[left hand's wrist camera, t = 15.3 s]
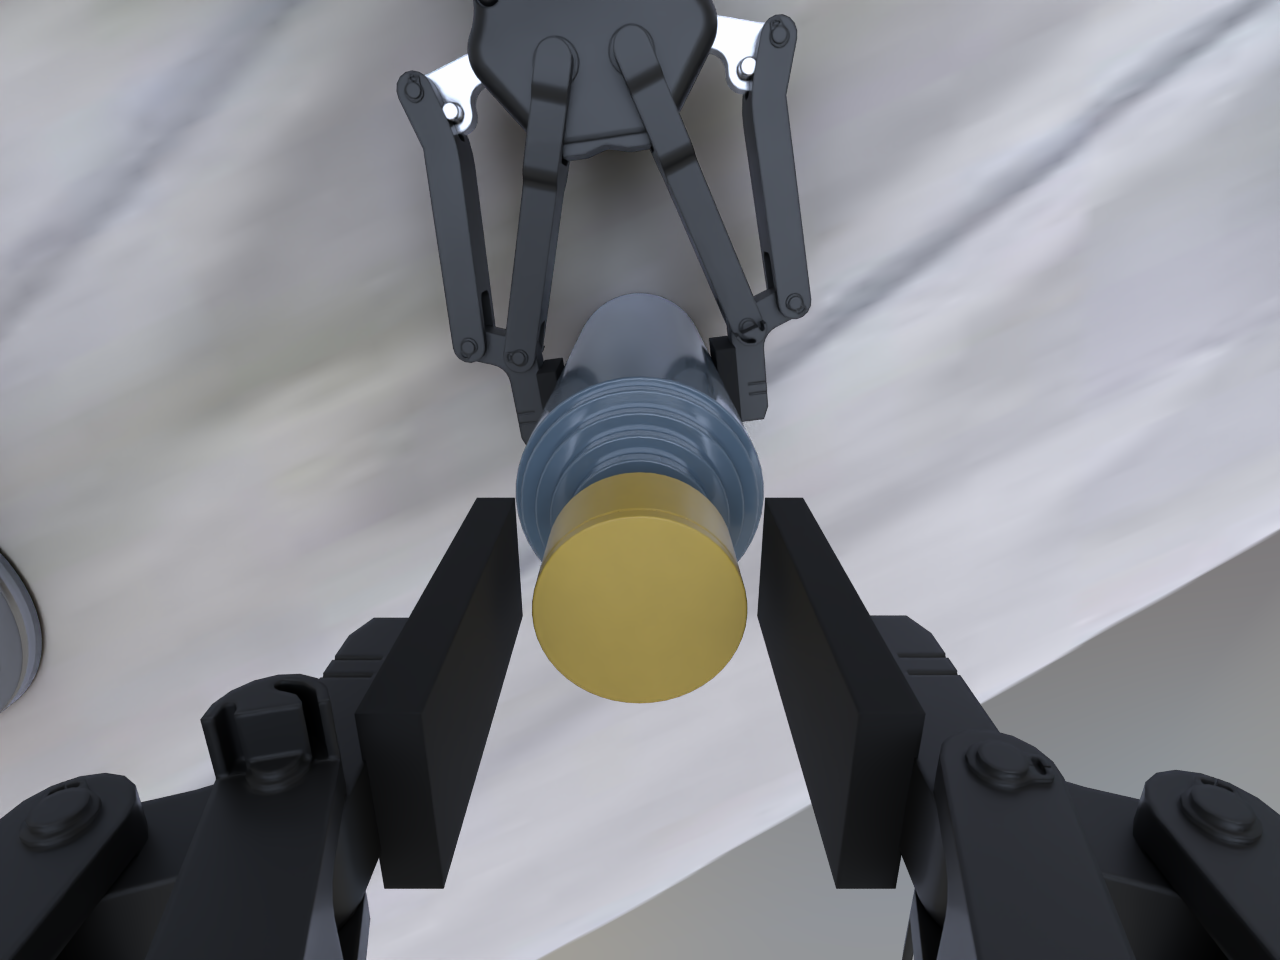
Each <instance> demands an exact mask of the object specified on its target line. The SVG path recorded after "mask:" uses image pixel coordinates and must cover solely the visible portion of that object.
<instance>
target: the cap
mask: <svg viewBox="0 0 1280 960" xmlns="http://www.w3.org/2000/svg"><path fill="white" fill-rule="evenodd" d="M532 617H533V624H534V629H535V632H536V636H537V639H538V641H539V643H540V645H541V647H542V650H543V651H544V653H545V654H546V656H547V657H548V659H549V660H550V662H551V663H552V664H553V665H554V666H555V668H556V669H557V670H558V671H559V672H560V673H561V674H563V675H564V676H565V677H566V678H567V679H568V680H570V681H571V682H573V683H574V684H575V685H577V686H579V687H580V688H582V689H584V690H586V691H588V692H590V693H592V694H595V695H597V696H600V697H603V698H607V699H610V700H614V701H620V702H626V703H653V702H659V701H665V700H669V699H673V698H676V697H680V696H682V695H685V694H687V693H689V692H692V691H694V690H695V689H697V688H699V687H701V686H703V685H704V684H705V683H707V682H708V681H710V680H711V679H712V678H714V677H715V676H716V675H717V674H718V673H719V672H720V671H721V670H722V669H723V668H724V667H725V666H726V664H727V663H728V662H729V661H730V660H731V658H732V656H733V655H734V653H735V652H736V650H737V648H738V646H739V644H740V642H741V639H742V637H743V633H744V630H745V627H746V620H747V598H746V592H745V587H744V584H743V581H742V577H741V573H740V569H739V566H738V562H737V559H736V555H735V551H734V548H733V544H732V541H731V537H730V534H729V531H728V528H727V526H726V524H725V522H724V520H723V518H722V516H721V514H720V513H719V512H718V510H717V509H716V507H715V506H714V505H713V504H712V503H711V502H710V501H709V500H708V499H707V498H706V497H705V496H704V495H703V494H701V493H700V492H699V491H698V490H696V489H695V488H693V487H691V486H690V485H688V484H686V483H684V482H682V481H680V480H677V479H675V478H671V477H668V476H665V475H660V474H655V473H643V472H636V473H624V474H619V475H614V476H611V477H608V478H605V479H602V480H600V481H598V482H595V483H593V484H591V485H590V486H588V487H586V488H585V489H583V490H582V491H580V492H579V493H578V494H577V495H576V496H574V497H573V498H572V499H571V500H570V501H569V502H568V503H567V504H566V506H565V507H564V508H563V509H562V511H561V512H560V514H559V515H558V517H557V518H556V520H555V522H554V524H553V527H552V529H551V532H550V535H549V539H548V542H547V546H546V549H545V553H544V556H543V560H542V564H541V567H540V571H539V574H538V578H537V582H536V585H535V589H534V594H533V600H532Z"/></svg>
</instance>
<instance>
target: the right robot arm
mask: <svg viewBox="0 0 1280 960" xmlns="http://www.w3.org/2000/svg"><path fill="white" fill-rule="evenodd" d="M473 2H474V18H473V25H472V29H471V33H470V36H469V40H468V54H466V55H464V56H462V57H460V58H458V59H456V60H454V61H452V62H450V63H448V64H446V65H444V66H442V67H440V68H438V69H436V70H434V71H432V72H430V73H428V74H426V75H423V74H422V73H420V72H417V71H408V72H405V73H404V74H403V75H402V76H400V78H399V80H398V82H397V94H398V98H399V100H400V102H401V104H402V106H403V108H404V110H405V112H406V115H407V117H408V119H409V121H410V123H411V125H412V127H413V129H414V131H415V133H416V135H417V137H418V139H419V141H420V143H421V145H422V147H423V150H424V157H425V164H426V170H427V177H428V184H429V190H430V197H431V204H432V210H433V217H434V224H435V230H436V237H437V244H438V250H439V257H440V264H441V270H442V277H443V284H444V290H445V297H446V304H447V310H448V317H449V324H450V330H451V337H452V344H453V349H454V352H455V354H456V355H457V357H458V358H459V359H461V360H462V361H464V362H469V363H472V362H476V361H477V362H482V363H487V364H491V365H495V366H498V367H500V368H501V369H503V370H504V371H505V372H506V373H507V375H508V377H509V379H510V382H511V387H512V392H513V397H514V402H515V407H516V412H517V417H518V422H519V427H520V432H521V437H522V439H523V441H524V442H525V444H526V445H527V443H528V441H529V439H530V436H531V434H532V432H533V430H534V428H535V426H536V424H537V422H538V420H539V418H540V416H541V414H542V412H543V410H544V408H545V406H546V403H547V401H548V399H549V397H550V395H551V393H552V391H553V389H554V387H555V385H556V383H557V381H558V379H559V377H560V375H561V373H562V370H563V368H564V363H563V358H557V359H550V360H545V361H544V362H543V356H542V352H543V350H544V347H545V346H543V343H544V336H545V328H546V321H547V314H548V306H549V299H550V292H551V284H552V277H553V270H554V262H555V255H556V247H557V240H558V233H559V225H560V218H561V211H562V203H563V196H564V190H565V186H566V182H567V176H568V169H569V162H570V161H573V160H580V159H586V158H590V157H592V156H594V155H596V154H599V153H601V152H603V151H605V150H608V149H612V150H619V151H626V152H634V151H641V150H648V149H650V150H651V153H652V155H653V157H654V160H655V162H656V164H657V167H658V169H659V171H660V173H661V175H662V177H663V179H664V181H665V184H666V186H667V188H668V191H669V193H670V195H671V198H672V200H673V202H674V205H675V207H676V209H677V212H678V214H679V216H680V218H681V221H682V223H683V225H684V228H685V230H686V232H687V235H688V237H689V239H690V242H691V244H692V246H693V249H694V251H695V253H696V256H697V258H698V260H699V263H700V265H701V267H702V269H703V272H704V274H705V276H706V279H707V281H708V283H709V286H710V288H711V290H712V293H713V295H714V297H715V300H716V302H717V304H718V307H719V309H720V311H721V313H722V316H723V318H724V320H725V323H726V325H727V333H728V336H722V337H714V338H709V342H710V353H711V359H712V361H713V363H714V365H715V367H716V369H717V371H718V373H719V375H720V377H721V380H722V382H723V384H724V386H725V388H726V390H727V392H728V394H729V396H730V398H731V400H732V402H733V404H734V406H735V409H736V411H737V413H738V415H739V417H740V419H741V421H742V422H744V421H752V420H760V419H764V417H765V414H766V411H767V408H768V399H767V385H766V371H765V357H764V342H765V339H766V337H767V335H768V333H769V332H770V331H771V330H772V329H774V328H775V327H777V326H779V325H781V324H783V323H785V322H787V321H789V320H791V319H798V318H801V317H803V316H804V315H805V314H806V313H807V312H808V310H809V308H810V306H811V294H810V286H809V278H808V270H807V261H806V253H805V245H804V237H803V229H802V221H801V212H800V204H799V196H798V188H797V180H796V172H795V164H794V155H793V147H792V139H791V131H790V123H789V115H788V106H787V98H786V93H787V88H788V83H789V77H790V72H791V67H792V62H793V56H794V51H795V46H796V41H797V28H796V26H795V23H794V22H793V20H792V19H791V18H790V17H788V16H786V15H783V14H781V15H774V16H773V17H771V18H769V19H768V20H767V21H766V23H761V22H755V21H749V20H743V19H737V18H731V17H725V16H719V15H717V13H716V9H715V6H714V4H713V2H712V0H473ZM709 54H712V55H715V56H717V57H718V58H719V59H720V60H721V61H722V63H723V64H724V67H725V75H726V82H727V84H728V86H729V88H730V89H731V90H732V91H734V92H735V93H738V94H743V99H742V116H743V127H744V134H745V141H746V148H747V155H748V162H749V169H750V176H751V183H752V190H753V197H754V204H755V211H756V218H757V225H758V232H759V239H760V246H761V253H762V260H763V267H764V274H765V281H766V288H767V290H765V291H763V292H761V293H759V294H757V295H755V296H753V294H752V292H751V289H750V287H749V285H748V282H747V280H746V277H745V275H744V272H743V270H742V268H741V265H740V263H739V260H738V258H737V256H736V253H735V251H734V248H733V246H732V243H731V241H730V239H729V236H728V234H727V231H726V229H725V226H724V224H723V222H722V219H721V217H720V214H719V212H718V209H717V207H716V205H715V202H714V200H713V197H712V195H711V193H710V190H709V188H708V185H707V183H706V180H705V178H704V176H703V173H702V171H701V168H700V166H699V163H698V161H697V158H696V156H695V152H694V149H693V146H692V143H691V140H690V138H689V136H688V133H687V131H686V128H685V126H684V123H683V121H682V119H681V116H680V114H679V113H680V111H681V109H682V107H683V105H684V103H685V101H686V99H687V97H688V95H689V93H690V91H691V89H692V87H693V85H694V83H695V81H696V79H697V77H698V75H699V73H700V71H701V69H702V67H703V65H704V63H705V61H706V59H707V57H708V55H709ZM485 88H487V89H488V91H489V92H490V93H491V94H492V95H493V96H494V97H495V98H496V99H497V100H498V102H499V103H500V104H501V105H502V106H503V107H504V108H505V109H506V110H507V111H508V113H509V114H510V115H511V116H512V117H513V118H514V119H515V120H516V121H517V122H518V124H519V125H520V126H521V127H522V128H523V129H524V130H525V131H526V132H527V136H526V144H525V153H524V162H523V190H522V199H521V207H520V216H519V224H518V233H517V241H516V250H515V258H514V267H513V276H512V284H511V293H510V301H509V310H508V318H507V327H506V329H503V328H498V327H495V319H494V311H493V303H492V296H491V288H490V280H489V272H488V264H487V256H486V249H485V241H484V233H483V225H482V217H481V209H480V201H479V194H478V186H477V178H476V170H475V163H474V158H473V153H472V149H471V146H470V142H469V139H468V137H467V135H468V134H470V133H471V132H472V131H473V130H474V129H475V128H476V125H477V123H478V115H477V110H476V100H477V97H478V95H479V93H480V92H481V91H482V90H483V89H485Z"/></svg>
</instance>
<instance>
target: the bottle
mask: <svg viewBox="0 0 1280 960" xmlns="http://www.w3.org/2000/svg"><path fill="white" fill-rule="evenodd" d="M636 472H643V473H655V474H660V475H665V476H668V477H671V478H675V479H677V480H680V481H682V482H684V483H686V484H688V485H690V486H691V487H693V488H695V489H696V490H698V491H699V492H700V493H701V494H703V495H704V496H705V497H706V498H707V499H708V500H709V501H710V502H711V503H712V504H713V505H714V506H715V507H716V509H717V510H718V512H719V513H720V514H721V516H722V518H723V520H724V522H725V524H726V526H727V528H728V531H729V534H730V537H731V541H732V544H733V548H734V551H735V555H736V559H737V562H738V561H739V560H740V558H741V557H742V556H743V555H744V553H745V552H746V550H747V548H748V547H749V545H750V543H751V542H752V539H753V537H754V535H755V533H756V530H757V528H758V524H759V521H760V517H761V514H762V507H763V500H764V483H763V476H762V469H761V466H760V462H759V459H758V455H757V453H756V450H755V448H754V446H753V444H752V442H751V440H750V437H749V435H748V433H747V431H746V429H745V427H744V425H743V423H742V421H741V419H740V417H739V415H738V413H737V411H736V409H735V406H734V404H733V402H732V400H731V398H730V396H729V394H728V392H727V390H726V388H725V386H724V384H723V382H722V380H721V377H720V375H719V373H718V371H717V369H716V367H715V365H714V363H713V361H712V359H711V357H710V355H709V353H708V351H707V349H706V346H705V344H704V342H703V340H702V338H701V336H700V334H699V332H698V330H697V328H696V326H695V324H694V323H693V321H692V320H691V318H690V317H689V316H688V315H687V313H686V312H685V311H684V310H682V309H681V308H680V307H679V306H678V305H676V304H675V303H673V302H672V301H670V300H668V299H666V298H663V297H660V296H657V295H653V294H648V293H632V294H627V295H622V296H619V297H617V298H614V299H612V300H610V301H608V302H606V303H605V304H604V305H602V306H601V307H599V308H598V309H597V310H596V311H595V312H594V313H593V314H592V315H591V317H590V318H589V319H588V321H587V322H586V324H585V325H584V327H583V329H582V331H581V333H580V335H579V337H578V340H577V342H576V344H575V346H574V348H573V350H572V352H571V354H570V356H569V358H568V360H567V362H566V364H565V366H564V368H563V370H562V373H561V375H560V377H559V379H558V381H557V383H556V385H555V387H554V389H553V391H552V393H551V395H550V397H549V399H548V401H547V403H546V406H545V408H544V410H543V412H542V414H541V416H540V418H539V420H538V422H537V424H536V426H535V428H534V430H533V432H532V434H531V436H530V439H529V441H528V443H527V445H526V447H525V449H524V452H523V454H522V457H521V461H520V464H519V467H518V473H517V480H516V503H517V511H518V516H519V519H520V523H521V526H522V529H523V531H524V534H525V536H526V538H527V541H528V542H529V544H530V546H531V547H532V549H533V551H534V552H535V554H536V555H537V557H538V558H539V559H540V560H541V562H542V560H543V556H544V553H545V549H546V546H547V542H548V539H549V535H550V532H551V529H552V527H553V524H554V522H555V520H556V518H557V517H558V515H559V514H560V512H561V511H562V509H563V508H564V507H565V506H566V504H567V503H568V502H569V501H570V500H571V499H572V498H573V497H574V496H576V495H577V494H578V493H579V492H580V491H582V490H583V489H585V488H586V487H588V486H590V485H591V484H593V483H595V482H598V481H600V480H602V479H605V478H608V477H611V476H614V475H619V474H624V473H636Z"/></svg>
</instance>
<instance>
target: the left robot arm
mask: <svg viewBox="0 0 1280 960" xmlns="http://www.w3.org/2000/svg"><path fill="white" fill-rule="evenodd" d="M522 616H523V613H522V598H521V583H520V569H519V554H518V539H517V524H516V509H515V498H477V499H476V500H475V502H474V504H473V506H472V507H471V509H470V511H469V513H468V515H467V516H466V518H465V520H464V522H463V523H462V525H461V527H460V529H459V530H458V532H457V534H456V536H455V537H454V539H453V541H452V543H451V544H450V546H449V548H448V550H447V551H446V553H445V555H444V557H443V559H442V560H441V562H440V564H439V566H438V567H437V569H436V571H435V573H434V574H433V576H432V578H431V580H430V581H429V583H428V585H427V587H426V588H425V590H424V592H423V594H422V595H421V597H420V599H419V601H418V603H417V604H416V606H415V608H414V610H413V611H412V613H411V615H410V617H409V618H373V619H372V620H370V621H369V622H367V623H366V624H364V625H363V626H362V627H360V628H359V629H357V630H356V631H355V632H353V633H352V634H350V635H349V636H348V638H347V639H346V641H345V642H344V644H343V645H342V647H341V648H340V650H339V651H338V652H337V654H336V655H335V660H332V661H331V663H330V664H329V666H328V667H327V668H326V670H325V671H324V673H323V678H320V679H318V678H314V677H310V676H306V675H302V674H286V675H275V676H271V677H267V678H263V679H259V680H254V681H252V682H250V683H248V684H245V685H243V686H241V687H239V688H236V689H234V690H232V691H230V692H229V693H227V694H226V695H225V696H223V697H222V698H220V699H219V700H218V701H216V702H215V703H213V704H212V705H211V706H210V708H209V709H208V710H207V712H206V713H205V714H204V715H203V717H202V718H201V719H200V720H201V724H202V728H203V731H204V735H205V739H206V743H207V746H208V750H209V754H210V758H211V761H212V765H213V769H214V773H215V776H216V781H215V783H214V785H211V786H207V787H204V788H201V789H197V790H193V791H189V792H185V793H180V794H176V795H171V796H167V797H163V798H158V799H154V800H150V801H145V802H141V801H140V798H139V795H138V792H137V789H136V785H135V784H133V783H132V782H131V781H130V780H129V779H128V778H126V777H125V776H122V775H116V774H109V773H101V774H94V775H87V776H80V777H77V778H74V779H71V780H67V781H65V782H61V783H59V784H56V785H53V786H51V787H49V788H47V789H45V790H43V791H41V792H39V793H38V794H36V795H34V796H32V797H30V798H28V799H26V800H24V801H23V802H22V803H20V804H19V805H18V806H16V807H15V808H14V809H13V810H11V811H10V812H9V813H7V814H6V815H5V816H4V817H2V818H1V819H0V960H366V955H367V945H368V935H369V925H370V914H369V907H368V901H367V895H366V888H367V886H368V883H369V881H370V878H371V876H372V873H373V871H374V868H375V866H376V864H377V861H378V859H379V860H380V866H381V872H382V877H383V883H384V889H444V886H445V882H446V879H447V875H448V872H449V868H450V865H451V862H452V858H453V855H454V851H455V848H456V844H457V841H458V837H459V834H460V830H461V827H462V824H463V820H464V817H465V813H466V810H467V806H468V803H469V799H470V796H471V792H472V789H473V786H474V782H475V779H476V775H477V772H478V768H479V765H480V761H481V758H482V755H483V751H484V748H485V744H486V741H487V737H488V734H489V730H490V727H491V723H492V720H493V717H494V713H495V710H496V706H497V703H498V699H499V696H500V692H501V689H502V685H503V682H504V679H505V675H506V672H507V668H508V665H509V661H510V658H511V654H512V651H513V648H514V644H515V641H516V637H517V634H518V630H519V627H520V623H521V620H522ZM757 616H758V620H759V623H760V627H761V630H762V634H763V637H764V641H765V644H766V648H767V651H768V654H769V658H770V661H771V665H772V668H773V672H774V675H775V679H776V682H777V685H778V689H779V692H780V696H781V699H782V703H783V706H784V710H785V713H786V717H787V720H788V723H789V727H790V730H791V734H792V737H793V741H794V744H795V748H796V751H797V755H798V758H799V761H800V765H801V768H802V772H803V775H804V779H805V782H806V786H807V789H808V792H809V796H810V799H811V803H812V806H813V810H814V813H815V817H816V820H817V824H818V827H819V830H820V834H821V837H822V841H823V844H824V848H825V851H826V854H827V858H828V861H829V865H830V868H831V872H832V875H833V879H834V882H835V886H836V888H837V889H895V888H896V883H897V877H898V872H899V866H900V860H901V855H902V858H903V860H904V862H905V865H906V867H907V870H908V872H909V875H910V877H911V880H912V882H913V885H914V887H915V890H914V895H913V901H912V906H911V911H910V917H909V922H908V928H907V933H906V938H905V944H904V950H903V957H902V960H912V958H913V953H914V960H1280V815H1279V814H1278V813H1277V812H1275V811H1274V810H1273V809H1271V808H1270V807H1269V806H1268V805H1266V804H1265V803H1264V802H1262V801H1261V800H1260V799H1259V798H1257V797H1255V796H1253V795H1251V794H1249V793H1247V792H1246V791H1244V790H1242V789H1240V788H1238V787H1236V786H1234V785H1232V784H1231V783H1228V782H1225V781H1223V780H1220V779H1216V778H1214V777H1210V776H1207V775H1204V774H1201V773H1195V772H1187V771H1180V770H1172V771H1165V772H1159V773H1156V774H1155V775H1153V776H1152V777H1151V778H1150V779H1149V780H1147V781H1146V782H1145V785H1144V789H1143V792H1142V795H1141V798H1140V799H1135V798H1131V797H1126V796H1122V795H1118V794H1113V793H1109V792H1104V791H1100V790H1096V789H1091V788H1087V787H1083V786H1079V785H1076V784H1073V783H1069V782H1066V781H1065V779H1064V777H1063V776H1062V774H1061V773H1060V771H1059V770H1058V768H1057V767H1056V766H1055V764H1054V762H1053V761H1052V760H1050V759H1049V758H1048V757H1047V756H1045V755H1044V754H1043V753H1042V752H1040V751H1039V750H1038V749H1037V748H1036V747H1034V746H1032V745H1030V744H1028V743H1026V742H1024V741H1022V740H1020V739H1018V738H1016V737H1014V736H1011V735H1007V734H1003V733H1000V732H999V731H998V729H997V728H996V726H995V725H994V723H993V722H992V721H991V719H990V718H989V716H988V715H987V713H986V712H985V710H984V709H983V708H982V706H981V705H980V703H979V702H978V700H977V699H976V697H975V696H974V694H973V693H972V692H971V690H970V689H969V687H968V686H967V684H966V683H965V681H964V680H963V678H962V677H961V676H960V675H957V670H956V668H955V667H954V665H953V664H952V663H951V661H950V660H949V658H946V656H945V652H944V651H943V649H942V648H941V647H940V645H939V644H938V642H937V641H936V639H935V638H934V636H933V635H932V634H931V633H930V632H929V631H927V630H926V629H925V628H923V627H922V626H920V625H919V624H918V623H916V622H915V621H913V620H912V619H911V618H909V617H908V616H870V615H869V613H868V611H867V610H866V608H865V606H864V604H863V603H862V601H861V599H860V597H859V595H858V594H857V592H856V590H855V588H854V587H853V585H852V583H851V581H850V580H849V578H848V576H847V574H846V573H845V571H844V569H843V567H842V566H841V564H840V562H839V560H838V559H837V557H836V555H835V553H834V551H833V550H832V548H831V546H830V544H829V543H828V541H827V539H826V537H825V536H824V534H823V532H822V530H821V529H820V527H819V525H818V523H817V522H816V520H815V518H814V516H813V514H812V513H811V511H810V509H809V507H808V506H807V504H806V502H805V500H804V499H803V498H765V509H764V524H763V539H762V554H761V569H760V584H759V598H758V613H757ZM41 651H42V636H41V628H40V623H39V619H38V615H37V612H36V609H35V606H34V604H33V601H32V599H31V597H30V595H29V593H28V591H27V589H26V587H25V585H24V584H23V582H22V581H21V579H20V577H19V576H18V574H17V573H16V572H15V570H14V569H13V568H12V566H11V565H10V564H9V562H8V561H7V560H6V559H5V558H4V557H3V555H2V554H1V553H0V713H1V712H2V711H4V710H5V709H6V708H7V707H9V706H10V705H11V704H12V703H14V702H15V701H16V700H17V699H19V698H20V697H21V696H22V694H23V693H24V692H25V691H26V690H27V689H28V687H29V686H30V684H31V683H32V681H33V679H34V677H35V675H36V673H37V670H38V667H39V663H40V658H41Z"/></svg>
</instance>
